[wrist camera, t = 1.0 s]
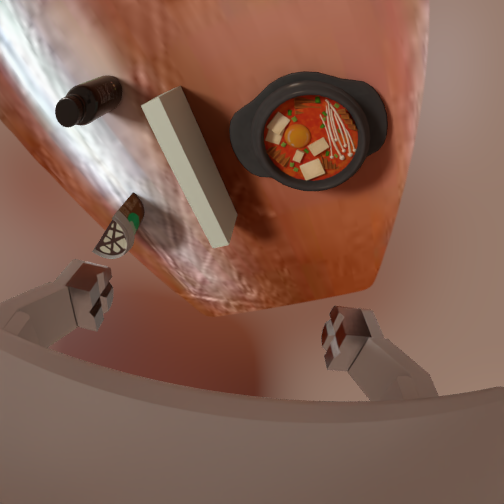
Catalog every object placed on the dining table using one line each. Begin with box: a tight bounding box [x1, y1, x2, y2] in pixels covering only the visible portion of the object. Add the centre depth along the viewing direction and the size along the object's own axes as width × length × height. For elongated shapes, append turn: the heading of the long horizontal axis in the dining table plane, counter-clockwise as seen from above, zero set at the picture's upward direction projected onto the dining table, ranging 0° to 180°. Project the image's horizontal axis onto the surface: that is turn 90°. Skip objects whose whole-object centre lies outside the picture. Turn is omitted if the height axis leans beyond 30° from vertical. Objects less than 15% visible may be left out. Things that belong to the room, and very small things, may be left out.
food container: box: [92, 193, 144, 259], centre depth 56 cm, size 12×6×10 cm, turn 137°
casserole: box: [229, 71, 388, 191], centre depth 41 cm, size 25×19×8 cm
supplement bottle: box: [55, 76, 122, 127], centre depth 38 cm, size 7×7×12 cm
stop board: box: [141, 86, 237, 248], centre depth 46 cm, size 3×26×9 cm, turn 19°
